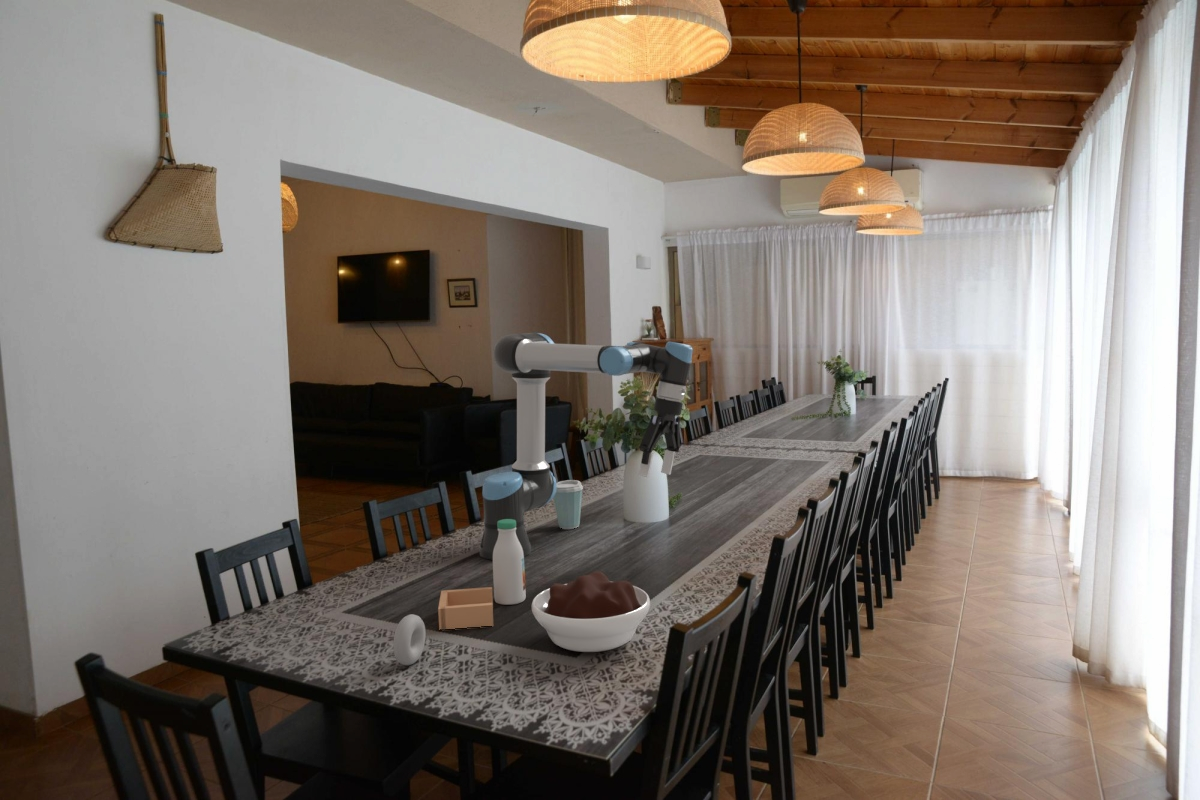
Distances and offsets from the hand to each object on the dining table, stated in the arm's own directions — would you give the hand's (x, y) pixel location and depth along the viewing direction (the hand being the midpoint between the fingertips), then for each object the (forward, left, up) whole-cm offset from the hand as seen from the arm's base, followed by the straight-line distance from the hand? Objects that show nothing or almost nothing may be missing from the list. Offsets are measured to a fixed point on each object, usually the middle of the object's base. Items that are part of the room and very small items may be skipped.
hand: (654, 474), depth 230 cm
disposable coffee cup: (-45, +26, -25) cm, 58 cm away
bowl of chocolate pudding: (+12, -57, -25) cm, 63 cm away
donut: (-16, -82, -25) cm, 87 cm away
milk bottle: (-20, -42, -25) cm, 53 cm away
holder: (-21, -56, -25) cm, 65 cm away
